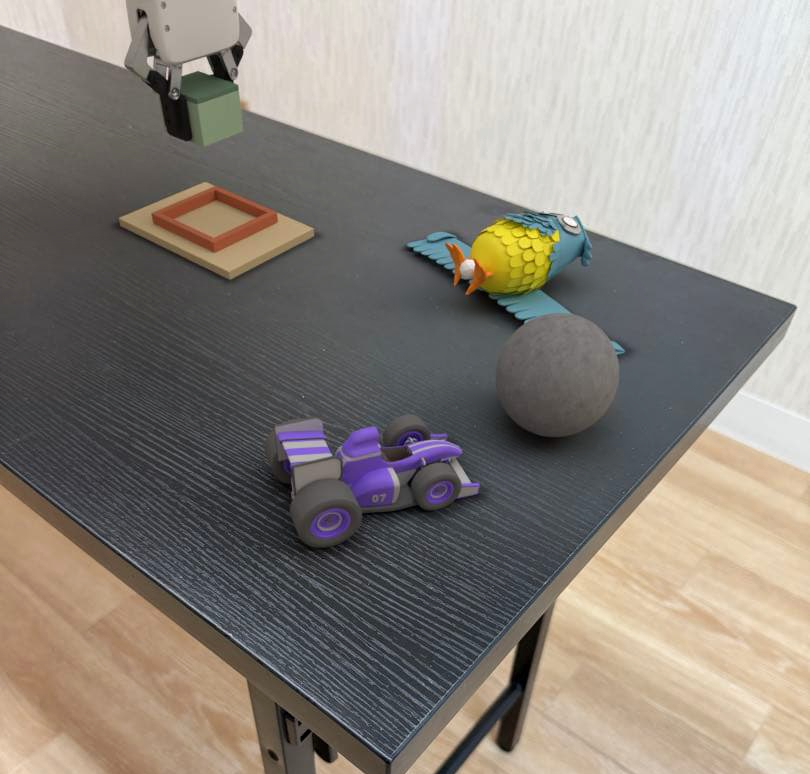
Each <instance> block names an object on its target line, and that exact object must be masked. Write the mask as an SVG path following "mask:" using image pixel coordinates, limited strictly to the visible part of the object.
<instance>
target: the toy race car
mask: <svg viewBox="0 0 810 774" xmlns="http://www.w3.org/2000/svg"><path fill="white" fill-rule="evenodd" d="M323 421H324V420H323V419H322V418H321V417H318V416H313V417H307V418H295V419H291V420H287V421H285V422H282V423H280V424H274V425H273V430H272V431H271V432H270V433H269V434H268V436H267V437H266V440H265V443H264V455H265V457H266V459H267V462H268V464H269V468H270V469H271V472H272V473H273V475H274V477H275V478H276V479H277V480H278V481H280V482H282V483H284V484H287V485H291V490H292V491H291V492H290V493H291V499H292V500H291V502H290V506H289V515H290V518H291V521H292V523H293V525H294V528H295V530H296V532H297V535H298V537H299V539H300V540H301V541H302V542H303V543H304V544H305V545H307V546H308V547H312V548H316V549H325V548H326V549H327V548H331V547H335V546H337V545H340V544H342V543H344V542H345V541H347V540H349V539H350V538H351V537H352V536H353V535H354V534H355V533H356V532H357V531H358V529H360V526H361V525H362V524H361V523H362V520H363V514H371V513H384V512H385V513H386V512H393V511H399V510H404V509H407V508H411V507H414V506H419V507H420V508H421V509H422V510H425V511H432V512H433V511H438V510H442V509H444V508H446V507H448V506H450V505H451V504H452V503H453V502H455V501H456V500H459V499H463V498H467V497H472V496H477V495H479V493H480V488H481V485H480V483H479V482H471V480H470V478H469V477H468V474H466V472H465V471H464V469H463V468H462V466H461V465H460V463H459V462H458V459H457V458H458V457H462V456H463V454H464V451H463V450H462V448H461V446H459V445H458V444H454V443H452V442H451V441H448V440H449V435H448V434H447V433H431V432H430V430H429V428H428V426H427V424H426V423H425V422H424V420H423V418H421V417H420V416H418V415H416V414H414V413H413V414H412V413H411V414H409V413H408V414H403V415H400V416H397V417H395V418H394V419H393V420H391V421H390V422H389V423H387V425H386V427H385V428H384V430H383V433H382V442H383V444H384V446H385V447H382V446H381V444H380V443H379V440H380V439H379V438H380V434H379V430H378V428H377V426H375V425H373V426H368V427H364V428H359V429H356V430H354V431H352V432H351V433H350V434H349V436H348V438H347V439H346V440H345V441H344V442H342V444H341V445H340V446H338V448H337V449H336V451H335V454H334V455H333V453H332V448H331V445H330V444H329V442H328V440H327V438H326V435H325V431H324V430H325V429H324V422H323ZM439 461H440V462H439ZM413 476H414V477H413ZM412 477H413V478H412ZM411 479H412V481H411V482H410V483H411V484H410V486H409V484H408V482H409V481H410V480H411Z"/></svg>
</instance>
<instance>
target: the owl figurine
mask: <svg viewBox="0 0 810 774" xmlns="http://www.w3.org/2000/svg"><path fill="white" fill-rule="evenodd" d="M501 216H503V217H501V218H499V219H497V220H494V221H493V222H492V224H491V225H488V226H487V227H485V228H484V229H483V230H481V231H480V232H479V233H478V234H477V235H476V236H475V239H474V240H473V241H472V243H471V246H470V245H468V244H466V243H464V242H462V241H461V240H459V239H458V237H457V236H456V235H454V234H452V233H449V232H445V231H436V232H432V233H430V234H428V235H426V238H423V239H420V240H416V241H412V242H408V243H406V246H407V247H408V248H410V249H412V250H413V251H414V252H415V253H420V254H421V255H423V256H427V257H428V259H430V260H433V261H435V262H436V264H438V265H443V267H444V269H446V270H452V272H451V273H452V274H453V275H454V276H453V277H454V278H453V287H456V286H457V285H458V283H459V282H460V280H461V279H462V280H463V281H464V280H465V281H468V284H469V286H468V288H467V290H466V291H465V295H466V296H469V295H470V294H472V293H473V292H475V291H476V290H479V291H482V292H487V293H489V294H488V298H489V299H492V300H497V302H496V303H497V304H498V305H499V306H502V307H505V310H506V311H507V312H509V313H510V314H514V317H515V319H517V320H521V321H522V320H524V322H523V325H524V324H525V323H527V322H528V321H530V320H532V319H534V318H537V317H539V316H542V315H546V314H551V313H568V314H573V313H572V312H571V311H569V310H568V309H567V308H565V307H564V306H563V305H562V304H560V303H559V302H557V301H556V300H555V299H553V298H552V297H550V296H549V295H547V294H546V293H545V292H543V290H541V289H542V287H543V286H545V284H546V283H548V282H549V281H550V280H551V279H552V278H554V277H556V276H557V275H558V274H559V273H560V272H561V271H563V270H564V269H566V268H567V267H568V266H570V265H571V264H572V263H573V262H574V261H575V260H577V259H578V258H580V263H581V266H582V267H584V268H585V267H589V266H590V260H592V258H593V255H592V253H591V252H590V251H591V250H592V249H593V246H592V243H591V242H590V238H589V237H588V234H587V232H586V229H585V227H584V224H583V222H582V220H581V219H580V217H579V216H578V215H577V214H576V215H575V216H573V217H571V216H570V215H565V214H563V213H554V212H548V213H545V211H544V210H543V211H539V212H538V213H535V212H532V211H530V210H522V211H521V213H508V214H501ZM610 341H611V343H612V345H613V347H614V349H615V351H616V355H617V356H620V355H623V354H625V353H626V351H625V349H624V348H623V347H622V346H621V345H620V344H619V343H617V342H615V341H613V340H610Z"/></svg>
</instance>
